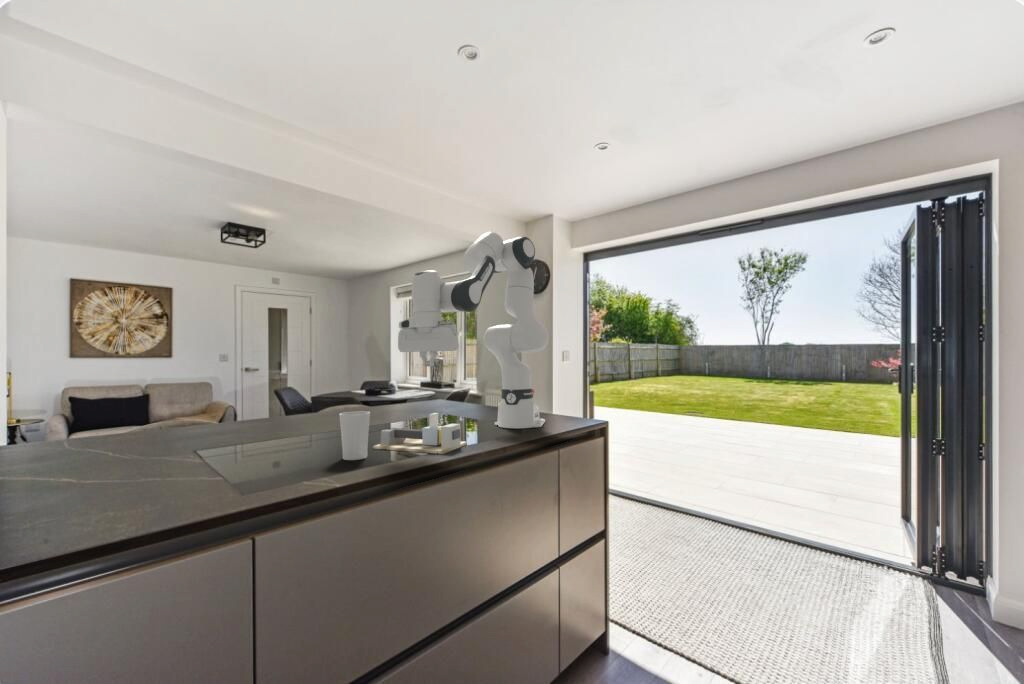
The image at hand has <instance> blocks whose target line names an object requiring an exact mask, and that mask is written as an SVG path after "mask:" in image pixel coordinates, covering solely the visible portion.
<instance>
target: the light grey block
mask: <svg viewBox="0 0 1024 684" xmlns="http://www.w3.org/2000/svg"><path fill="white" fill-rule="evenodd" d="M393 428H400V429H406V426H395V427H393ZM403 440H406V438H394V430H390V429H387V428H386V429H382V430H380V444H386V445H390V444H393V443H396V442H400V441H403Z"/></svg>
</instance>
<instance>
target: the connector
mask: <svg viewBox="0 0 1024 684" xmlns="http://www.w3.org/2000/svg"><path fill="white" fill-rule="evenodd" d="M441 426H442V427H441V448H452V447H455V446H457V445H460V444H461V441H462V440H461V437H462V436H461V434H462V433H461V423H448V424H446V425H441Z"/></svg>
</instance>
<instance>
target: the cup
mask: <svg viewBox="0 0 1024 684" xmlns="http://www.w3.org/2000/svg"><path fill="white" fill-rule="evenodd" d="M370 419H371V412H370V411H363V410H361V411H360V410H359V411H347V412H346V411H345V412H340V413H339V426H340V436H341V438H340V439H341V448H342V449H341V450H342V459H343V460H344V461H345V460H346V461H357V460H363V459H366V458H367V457H368V445H369V432H370V430H369V429H370Z"/></svg>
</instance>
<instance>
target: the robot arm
mask: <svg viewBox="0 0 1024 684" xmlns="http://www.w3.org/2000/svg"><path fill="white" fill-rule="evenodd" d="M535 253H536V248H535V245H534V243H533V242H532V240H531V239H530V238H529V237H527V236H517V237H515V238H511V239H508V240H504V239H503V238H502V237H501V236H500V235H499V233H497V232H494V231H489V232H485V233H483V234H482V235H481V236H479V237H478V238H477V239H476V240H474V241H473V243H471V244H470V246H468V248H467V249H466V250H465V253H464V254H463V259H462V260H463V264H464V266H465V269H466V270H467V271H468V272H469V273H470V274H471V275H470V277H469V278H466V279H463V280H458V281H457V280H456V281H451V282H447V281H446V280H444V279H442V278H441V277H440V276H439V273H438V271H437V270H435V269H433V270H430V269H429V270H423V271H418V272H416V273H414V274H413V276H412V281H411V300H412V303H413V304H412V306H413V308H412V316H410V317H407V318H406V319H403V320H402V321H400V322H399V321H398V328H399V329H400V330H399V331H398V334H397V347H398V350H399V352H400V353H412V352H413V353H418V352H419V357H420V359H421V360H422V366H423V367H434V366H435V360H436V358H437V357H438V352H456V351H457V350H459V338H458V337H459V336H458V326H457V324H456V323H455V322H454V321H452V320H448V321H447V320H445V321H443V320H442V313H455V312H459V313H460V312H463V313H464V312H466V313H467V312H474V311H475V310H476V309H477V308H478V307H479V305H480V303H481V300H482V297H483V295H484V292H485V290H486V288H487V286H488V285H489V283H490V280H492V277H493V275H494V274H499V273H502V272H506V273H507V281H506V287H505V298H504V310H505V311H506V313H507V314H508V315H510V316H511V317H513V318H515V319H516V323H510V324H498V325H494V326H489V327H488V328H487V329H486V331H485V333H484V335H483V343H484V346H485V348H486V349H487V350H488V351H489V352H490V353H492V354H493V356H495V358H496V360H497V361H498V364H499V366H500V370H501V385H502V386H501V390H500V397H501V401H500V402H499V403H498V405H497V421H494V426H497V425H498V427H499V428H502V429H503V428H504V429H530V428H531V429H532V428H541V427H542V426H543V425H544V424H545V423H546V419H544V418H540V407H539V406H538V404H537V403H536V401H535V399H534V394H535V388H532V371H531V368H530V366H529V365H528V364H527V363H525V362H523V361H521V360H519V358H518V355H517V353H535V352H536V353H537V352H540V351H543V350H545V349H546V347H547V346H548V344H549V340H550V339H549V338H550V335H549V330H547V327H546V326H545V325H544V324H542V323H541V322H540V321H539V320H538V318H537V317H536V315H535V312H534V311H535V310H534V295H535V294H534V292H535V288H534V287H535V284H534V281H535V280H534V279H535V278H534V273H533V270H532V268H531V267H532V266H533V263H534V260H535V256H536V254H535ZM428 352H429V356H430V358H429V359H428V358H427V355H428Z"/></svg>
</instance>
